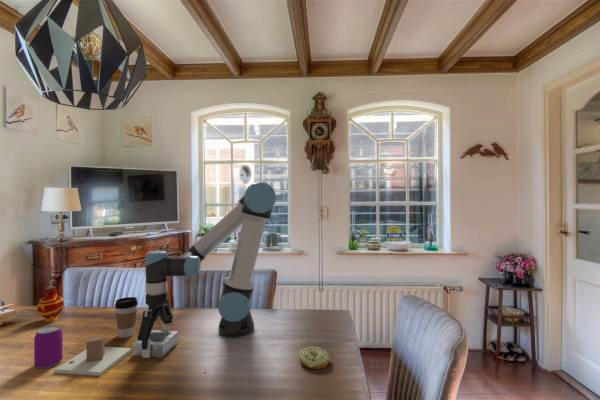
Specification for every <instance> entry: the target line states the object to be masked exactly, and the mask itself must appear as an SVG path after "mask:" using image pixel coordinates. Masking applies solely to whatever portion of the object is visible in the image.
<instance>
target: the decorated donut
mask: <svg viewBox="0 0 600 400" xmlns="http://www.w3.org/2000/svg"><path fill="white" fill-rule="evenodd" d="M329 354H330V353H328V351H327V350H326V349H324V348H321V347H316V346H308V347H305V348H303V349H301V350H300V351H299V354H298V358H299V362H300V363H301V365H303V366H304V367H306V368H307V369H308V368H309V369H312V370H321V369H325V368H326V367H327V366H328V365H329V362H330V359H331V358H330V355H329Z"/></svg>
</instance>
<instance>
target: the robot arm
mask: <svg viewBox="0 0 600 400" xmlns="http://www.w3.org/2000/svg"><path fill="white" fill-rule="evenodd" d="M276 200H277V197H276V192H275V189H274V188H273V186H271V185H270V184H269V183H266V182H264V181H255V182H253V183H251V184H250V185H249V186H247V188H246V190H245V192H244V195H243V196H241V198H240V199H239V200H238V201H237V204H236V206H234V208H233V209H231V210H230V211H229V212H228V213H227V214H225V216H224V217H223V218H221V219H220V220H219V221H217V222H216V224H215V225H213V226H212V227H211V229H209V230H208V231H207V232H206V233H204V234H203V236H202V237H200V238H199V239H198V240H197V241H196V242H195V243H194V244H192V245H191V246H190V248H188V249H187V250H186V251H184V252H183V254H181V255H180V256H178V255H177V256H174V255H173V256H169V255H168V251H166V250H153V251H149V252H147V253H146V254H145V264H144V266H145V269H144V270H145V284H144V285H145V304H146V305H147V306H148V308H147V309H148V310H143V311H142V319H141V322H140V327H139V331H138V334H137V335H138V336H137V340H138V341H142V356H141V358H144V359H145V358H147V359H150V358H151V357H150V339H149V336H150V334H151V331H152V330H153V328H154V324H155V323H156V321H157V320H158V319H159V318H160V319H161V321H162V324H161V330H163V331H170V324H172V323H173V319H174V318H173V317H174V316H173V314H172V311H171V306H170V301H169V299H168V277H169V278H170V277H194V276H198V275H199V274H200V271H201V264H202V262H203V261H204V260H205V259H206V258H207V257H208V256H210V254H212V253H213V252H214V251H215V250H216V249H217V248H218V247H219V246H220V245H221V244H223V242H225V241H226V240H227V239H228V238H229V237H230V236H231V235H233V233H234V232H236V231H237V230H238V229H239V228H240V233H239V236H238V240H237V244H236V249H235V252H234V258H233V261H232V266H231V269H230V274H229V276H226V277H224V278H222V279H223V280H222V284H221V285H222V290H221V294H220V299H219V300H218V303H217V308H218V314H219V315H220V317H221V318H220V319H219V324H218V333H219V335H221V336H224V337H228V338H238V337H244V336H247V335H249V334H251V333H252V332H254V329H255V322H254V319H253V316H252V313H251V300H252V296H253V291H254V288H255V287H254V284H253V282H252V280H253V274H254V272H255V267H256V263H257V260H258V259H257V257H258V254H259V250H260V247H261V243H262V237H263V233H264V229H265V224H266V223H267V222H269V220H270V219H271V217H272V212H273V208H274V206H275V203H276Z"/></svg>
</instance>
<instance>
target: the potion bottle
mask: <svg viewBox="0 0 600 400" xmlns="http://www.w3.org/2000/svg"><path fill="white" fill-rule="evenodd" d="M56 288H57V286H55V285H54V286H48V287H45V291H44V293H45V294H46V296H45V297H42V298H41V299H40V300H39V301H38V304H37V305H36V307H37V308H36V309H37V315H38V316H41V317H42V318H44V321H43V322H44V323H50V322H55V321H57V320H58V317H57V316H58V315H59V314H60V313H61V312H62V311H63V308H64V307H65V300H64V298H63V297H62V296H61V295H58V294H56V292H57V289H56Z"/></svg>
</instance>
